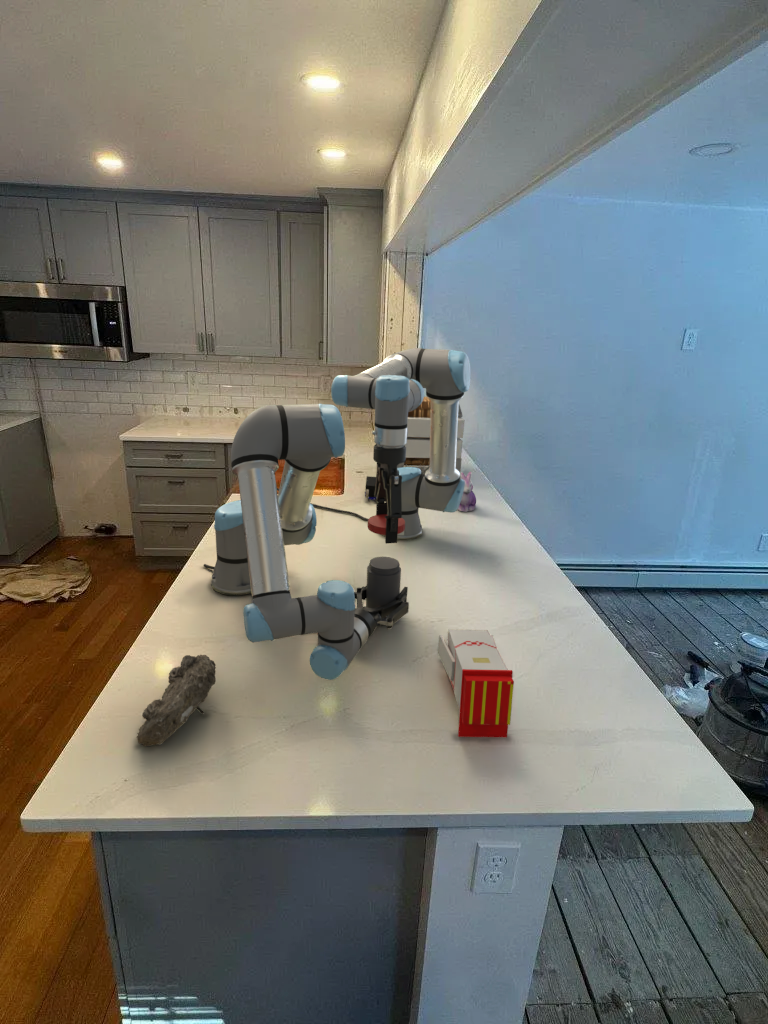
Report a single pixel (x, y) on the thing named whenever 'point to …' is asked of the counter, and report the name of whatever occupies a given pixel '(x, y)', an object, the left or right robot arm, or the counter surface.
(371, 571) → the jar
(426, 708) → the counter surface
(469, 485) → the figurine
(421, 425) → the white storage crate
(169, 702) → the fossil
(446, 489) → the right robot arm
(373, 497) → the figurine character
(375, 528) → the lid
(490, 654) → the toy
